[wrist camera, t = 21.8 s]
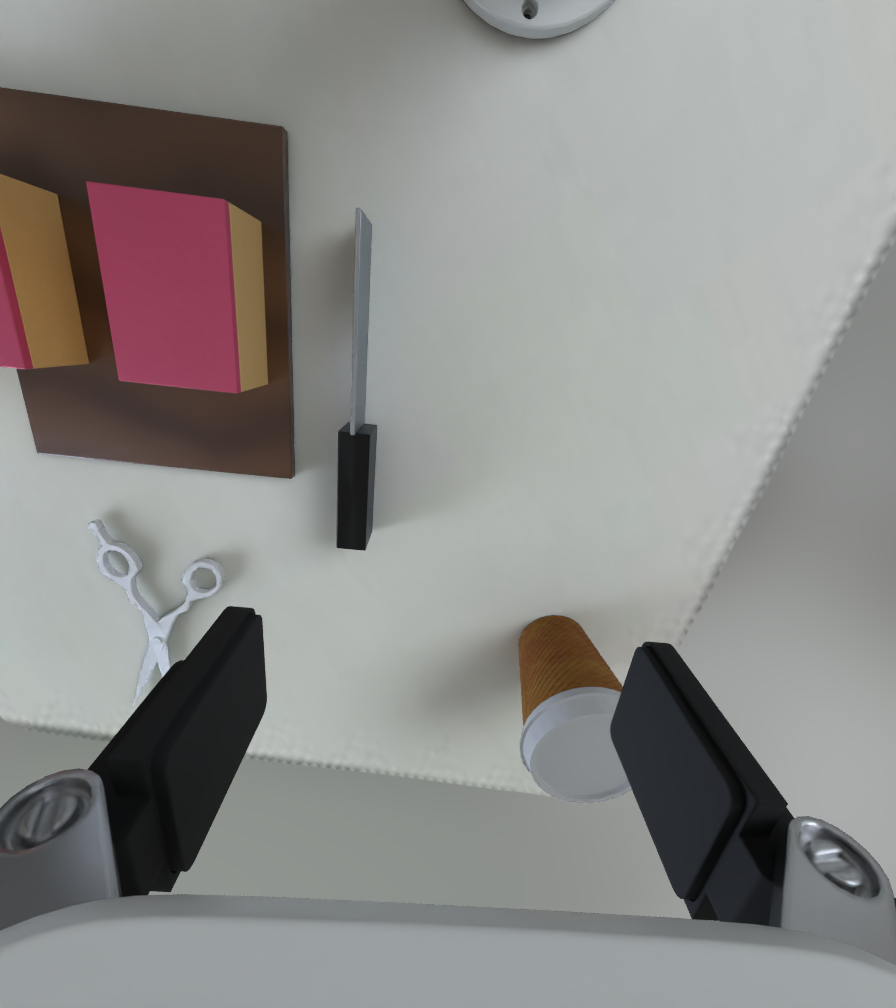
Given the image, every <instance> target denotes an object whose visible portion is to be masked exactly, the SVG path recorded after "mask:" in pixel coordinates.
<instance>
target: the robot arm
mask: <svg viewBox="0 0 896 1008" xmlns="http://www.w3.org/2000/svg"><path fill="white" fill-rule="evenodd" d="M464 1H465V3H466V4H467V5H468V6H469V7H470V9H471V10H472V11H473V12H475V13H476V14H477V15H478V16H480V17H481V18H482V19H483V20H484V21H486V22H487V23H488V24H489V25H491V26H493V27H495V28H497V29H499V30H501V31H503V32H505V33H507V34H510V35H514V36H519V37H523V38H528V39H539V38H553V37H556V36H560V35H563V34H566V33H570V32H573V31H574V30H576V29H578V28H580V27H582V26H583V25H585V24H587V23H589V22H591V21H592V20H594V19H595V18H596V17H597V16H598V15H599V14H601V13H602V12H603V11H604V10H605V9H606V8H608V7H609V6H610V5H611V4H612V3H613V2H614V1H615V0H464ZM525 14H528V15H530V17H531V19H527V18H525V17H524V15H525ZM266 702H267V692H266V675H265V658H264V641H263V624H262V617H261V615H255V611H254V609H253V608H244V607H233V606H229V607H227V608H226V609H225V610H224V611H223V612H222V613H221V615H220V616H219V617H218V618H217V620H216V621H215V622H214V624H213V625H212V626H211V627H210V629H209V630H208V631H207V632H206V634H205V635H204V636H203V637H202V639H201V640H200V641H199V643H198V644H197V645H196V646H195V648H194V649H193V650H192V651H191V653H190V654H189V655H188V656H187V658H186V659H185V660H184V661H183V660H180V661H178V662H176V663H175V664H174V665H173V666H172V667H171V668H170V669H169V670H168V671H167V673H166V674H165V675H164V676H163V677H162V679H161V680H160V681H159V682H158V684H157V685H156V686H155V687H154V688H153V690H152V691H151V692H150V693H149V695H148V696H147V697H146V698H145V700H144V701H143V702H142V703H141V704H140V706H139V707H138V708H137V709H136V711H135V712H134V713H133V714H132V716H131V717H130V718H129V719H128V720H127V722H126V723H125V724H124V725H123V727H122V728H121V729H120V730H119V732H118V733H117V734H116V735H115V736H114V738H113V739H112V740H111V741H110V743H109V744H108V745H107V746H106V748H105V749H104V750H103V751H102V753H101V754H100V755H99V756H98V757H97V759H96V760H95V761H94V762H93V763H92V765H91V766H90V767H89V768H88V770H84V769H72V770H64V771H60V772H57V773H54V774H51V775H48V776H45V777H44V778H42V779H40V780H38V781H36V782H34V783H32V784H30V785H28V786H26V787H25V788H24V789H22V790H21V791H19V792H18V793H17V794H15V795H14V796H13V797H11V798H10V799H9V800H8V801H7V802H6V803H5V804H4V805H3V806H2V807H1V808H0V1008H896V898H894V895H893V890H892V888H891V885H890V882H889V879H888V877H887V876H886V874H885V873H884V871H883V869H882V868H881V866H880V865H879V864H878V863H877V861H876V860H875V859H874V858H873V857H872V856H871V855H870V853H869V852H868V851H867V850H866V849H865V848H863V847H862V846H861V845H860V844H859V843H858V842H857V841H855V840H854V839H853V838H852V837H851V836H849V835H848V834H846V833H845V832H843V831H842V830H840V829H839V828H837V827H835V826H833V825H831V824H829V823H827V822H825V821H823V820H820V819H816V818H813V817H809V816H806V817H805V816H804V817H797V818H795V819H794V817H793V816H792V815H791V813H790V812H789V810H788V809H787V808H786V806H787V804H788V803H787V802H786V801H785V799H784V798H783V796H782V795H781V794H780V792H779V791H778V790H777V788H776V787H775V785H774V784H773V783H772V781H771V780H770V779H769V777H768V776H767V774H766V773H765V772H764V770H763V769H762V768H761V766H760V765H759V764H758V763H757V761H756V759H755V758H754V757H753V756H752V754H751V753H750V751H749V750H748V749H747V747H746V746H745V744H744V743H743V742H742V740H741V739H740V737H739V736H738V735H737V733H736V732H735V731H734V730H733V728H732V727H731V725H730V724H729V722H728V721H727V720H726V718H725V717H724V716H723V714H722V713H721V712H720V710H719V709H718V707H717V706H716V705H715V703H714V702H713V701H712V699H711V698H710V697H709V695H708V694H707V692H706V691H705V690H704V688H703V687H702V685H701V684H700V683H699V681H698V680H697V679H696V677H695V676H694V674H693V673H692V672H691V670H690V669H689V668H688V666H687V665H686V663H685V662H684V661H683V659H682V658H681V657H680V655H679V654H678V653H677V651H676V650H675V648H674V647H673V646H672V645H671V644H668V643H658V642H645V643H644V644H643V645H642V647H638V648H637V649H636V650H635V653H634V656H633V659H632V662H631V665H630V668H629V671H628V674H627V677H626V680H625V683H624V686H623V689H622V692H621V695H620V698H619V701H618V703H617V706H616V709H615V712H614V715H613V718H612V721H611V725H610V735H611V739H612V742H613V745H614V747H615V749H616V752H617V754H618V757H619V759H620V761H621V764H622V766H623V769H624V771H625V774H626V776H627V778H628V781H629V783H630V786H631V788H632V791H633V793H634V795H635V798H636V800H637V803H638V805H639V807H640V810H641V812H642V815H643V817H644V820H645V822H646V825H647V827H648V829H649V832H650V834H651V837H652V839H653V842H654V844H655V846H656V849H657V851H658V854H659V856H660V859H661V861H662V863H663V866H664V868H665V871H666V873H667V876H668V878H669V880H670V883H671V885H672V888H673V890H674V892H675V893H676V895H677V896H678V897H679V898H681V899H684V901H685V904H686V906H687V908H688V911H689V913H690V915H691V918H692V919H683V918H667V917H650V916H632V915H616V914H599V913H583V912H566V911H548V910H530V909H510V908H493V907H473V906H454V905H434V904H414V903H396V902H373V901H353V900H330V899H329V900H328V899H309V898H288V897H264V896H226V895H188V894H177V895H148V894H149V892H150V891H159V892H160V891H161V892H171V890H172V888H173V886H174V884H175V882H176V880H177V878H178V876H179V874H180V872H181V871H184V872H185V871H188V870H189V869H190V867H191V866H192V865H193V862H194V861H195V859H196V857H197V854H198V852H199V850H200V848H201V846H202V844H203V842H204V840H205V838H206V835H207V833H208V831H209V829H210V827H211V825H212V823H213V820H214V819H215V816H216V814H217V812H218V810H219V808H220V806H221V804H222V802H223V799H224V797H225V795H226V793H227V791H228V789H229V786H230V784H231V782H232V780H233V778H234V776H235V774H236V772H237V770H238V767H239V765H240V763H241V761H242V759H243V757H244V755H245V753H246V751H247V748H248V746H249V744H250V742H251V740H252V738H253V736H254V734H255V731H256V729H257V727H258V725H259V723H260V721H261V719H262V717H263V714H264V711H265V708H266ZM708 920H713V921H708Z"/></svg>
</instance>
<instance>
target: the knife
mask: <svg viewBox="0 0 896 1008" xmlns="http://www.w3.org/2000/svg"><path fill="white" fill-rule="evenodd" d="M371 239H372V224H371V223H370V221H369V220H368V218H367V217H366V215H365V214H364V212H363V211H362V209H361V208H356V226H355V266H354V307H353V347H352V387H351V422H348V423H347V424H346V425H345V426H344V427H343V428H342V429H341V430H340V431H339V432H338V481H337V548H343V549H354V550H366V547H367V544H368V542H369V539H370V536H371V533H372V524H373V503H374V482H375V461H376V440H377V425H372V424H365V402H366V374H367V347H368V320H369V293H370V266H371Z"/></svg>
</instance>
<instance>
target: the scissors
mask: <svg viewBox="0 0 896 1008" xmlns="http://www.w3.org/2000/svg"><path fill="white" fill-rule="evenodd" d="M88 526H89V529H90V530H92V531H93V533H94V534H95V535H96V537H97V539H98V541H99V542H100V544H101V545H102V547H100V548H99V549H98V552H97V556H96V559H97V564H98V568H99V569H100V570H101V571H102V572H103V573H104V574H105V575H106V576H107V577H108V578H110V579H111V580H113V581H115V582H117V583H119V584H120V585H121V586H122V587H123V588H124V589H125V590H126V591H127V592H128V600H129V601H130V602H132V603H133V604H135V605H136V606H137V607H138V608H139V609H140V610H141V612H142V613H143V619H144V623H145V628H146V631H147V633H148V635H149V637H150V642H149V645H148V648H147V651H146V654H145V658H144V661H143V665H142V668H141V672H140V677H139V681H138V686H137V690H136V694H135V698H134V705H133V708H134V706H135V704H136V702H137V700H138V698H139V696H140V694H141V692H142V690H143V688H144V686H145V684H146V682H147V680H148V678H149V676H150V673H151V672H152V670H153V668H154V666H155V664H156V662H157V661H158V664H159V668H160V671H161V674H162V677H163V676H164V675H165V674H166V673H167V671H168V670H169V669H170V668H171V665H170V658H169V650H168V643H167V640H168V638H169V636H170V634H171V631H172V628H173V626H174V623H175V621H176V619H177V617H178V615H179V614H180V613H183V612H187V611H188V610H189V609H190V607H191V605H192V601H193V600H196V599H200V598H206V597H209V596H211V595H212V594H214V593H215V592H217V591H218V590H219V588H220V587H221V586H222V584H223V583H224V577H225V575H224V571H223V569H222V568H221V566H220V565H219V564H218V563H217V562H216V561H214V560H212V559H205V558H204V559H201V560H197V561H195V562H194V563H193V564H192V565H191V566H190V567H189V568H188V569H187V570H186V571H185V572H184V574H183V576H182V579H181V580H182V582H183V584H184V586H185V588H186V589H187V591H188V594H187V595H186V599H185V603H184V604H182V605H181V606H180V607H178V608H177V609H175V610H174V611H171V612H169V613H168V614H166V615H165V616H163V617H162V618H160V617H159V616H158V615H157V614H156V613H155V611H154V610H153V609H152V608H151V607H150V606H149V605H148V603H147V602H146V601H145V600H144V599H143V598H142V597H141V595H140V594H139V592H138V590H137V588H136V575H137V573H138V572H139V571H140V570H141V569H142V568H143V566H142V563H141V560H140V558H139V557H138V556H137V554H136V553H135V552H134V551H133V550H132V549H131V548H130V547H129V546H128V545H126V544H124V543H121V542H116V541H113V539H112V538H111V537H110V536H109V534H108V533H107V532H106V530H105V529H104V525H103V523H102V521H101V520H94V521H92V522H90V523H88ZM109 550H114V551H118V552H120V553H121V554H123V555H124V556H125V558H126V559H127V561H128V564H129V572H128V574H125V573H121V572H117V571H116V570H115V569H114V568H113V567H112V565H111V564H110V562H109V559H108V553H109ZM199 567H204V568H208V569H210V570H212V571H213V572H214V573H215V575H216V578H217V581H216V586H214V587H213V588H211V589H202V588H200V587H198V586H197V585H196V583H195V581H194V579H193V578H194V575H195V571H196V569H197V568H199Z"/></svg>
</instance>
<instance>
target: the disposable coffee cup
mask: <svg viewBox="0 0 896 1008" xmlns="http://www.w3.org/2000/svg"><path fill="white" fill-rule="evenodd" d="M518 645H519V661H520V679H521V695H522V713H523V731H522V735H521V739H520V754H521V758H522V761H523V764H524V765H525V767H526V768H527V770H528V771H529V772H530V773H531V774H532V776H533V779H534V780H535V782H536V783H537V785H538V786H539V787H540V788H541V789H542V790H544V791H545V792H546V793H548V794H550V795H551V796H553V797H556V798H559V799H562V800H565V801H569V802H576V803H594V802H600V801H606V800H609V799H613V798H616V797H618V796H621V795H623V794H625V793H627V792H628V791H630V790H632V788H631V786H630V783H629V781H628V778H627V776H626V774H625V771H624V769H623V766H622V764H621V761H620V759H619V757H618V754H617V752H616V749H615V747H614V745H613V742H612V739H611V735H610V725H611V721H612V718H613V715H614V712H615V709H616V706H617V703H618V701H619V698H620V695H621V692H622V689H623V687H622V684H621V683H620V682H619V681H618V679H617V678H616V676H615V675H614V673H613V672H612V671H611V670H610V667H609V666H608V665H607V663H606V662H605V661H604V659H603V658H602V656H601V655H600V653H599V652H598V651H597V649H596V647H595V646H594V645H593V643H592V642H591V640H590V639H589V638H588V636H587V635H586V633H585V632H584V630H583V629H582V627H581V626H580V625H579V624H578V623H577V622H575V621H574V620H572V619H570V618H567V617H564V616H555V615H554V616H546V617H543V618H540V619H538V620H535V621H534V622H532V623H531V624H530V625H528V626H527V627H526V628H525V629H524V631H523V632H522V634H521V636H520V639H519V644H518Z"/></svg>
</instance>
